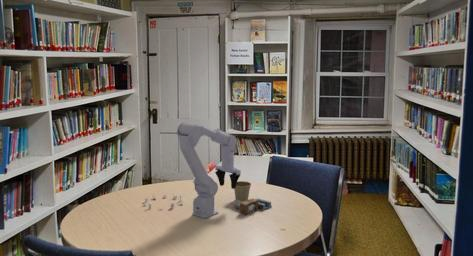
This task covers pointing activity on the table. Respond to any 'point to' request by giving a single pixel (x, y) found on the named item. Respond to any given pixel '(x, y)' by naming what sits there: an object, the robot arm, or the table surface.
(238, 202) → the grey metal cylinder
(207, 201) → the robot arm
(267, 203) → the v block
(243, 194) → the flower pot
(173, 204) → the game piece set
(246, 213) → the brown wooden u-shaped block
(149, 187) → the table surface
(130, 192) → the table surface
